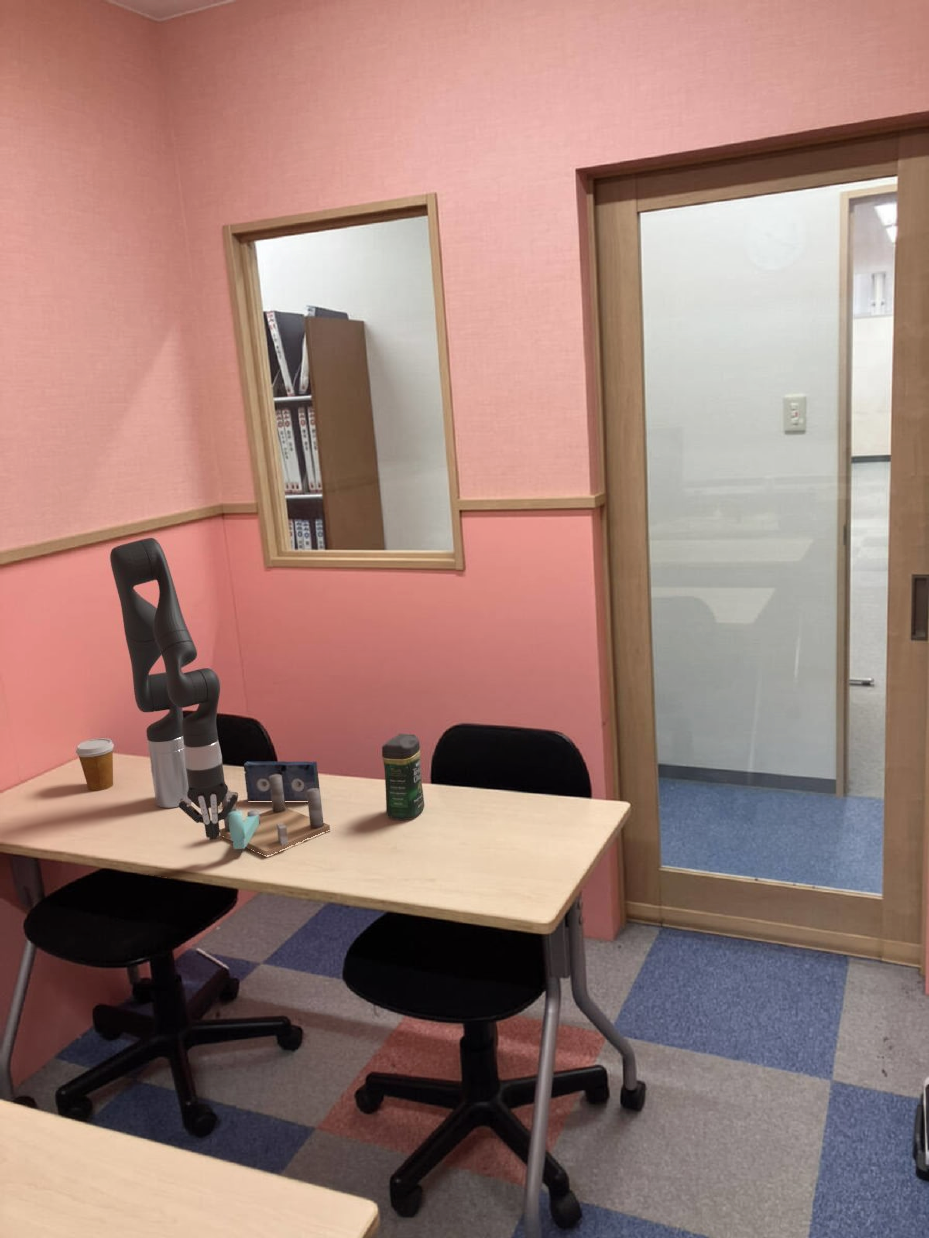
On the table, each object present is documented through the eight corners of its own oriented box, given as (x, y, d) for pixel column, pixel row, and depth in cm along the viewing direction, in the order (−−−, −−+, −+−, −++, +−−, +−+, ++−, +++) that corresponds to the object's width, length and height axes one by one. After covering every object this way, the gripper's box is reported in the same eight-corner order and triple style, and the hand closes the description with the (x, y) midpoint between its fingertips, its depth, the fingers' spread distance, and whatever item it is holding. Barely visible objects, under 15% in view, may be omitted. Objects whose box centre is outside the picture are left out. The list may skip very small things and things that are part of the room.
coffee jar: (414, 822, 230) (407, 745, 226) (382, 819, 233) (375, 743, 229) (429, 805, 239) (423, 731, 235) (399, 803, 242) (392, 730, 238)
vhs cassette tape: (321, 799, 248) (317, 760, 246) (317, 803, 245) (313, 765, 243) (252, 797, 252) (247, 760, 250) (247, 802, 249) (242, 764, 247)
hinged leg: (249, 821, 232) (245, 788, 231) (262, 821, 232) (258, 787, 231) (230, 852, 217) (226, 816, 215) (244, 851, 216) (239, 816, 215)
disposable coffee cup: (93, 780, 273) (86, 738, 270) (125, 779, 271) (119, 737, 269) (75, 793, 264) (68, 750, 261) (109, 793, 262) (102, 749, 260)
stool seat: (220, 835, 230) (215, 794, 228) (281, 811, 242) (277, 772, 240) (269, 858, 216) (264, 815, 214) (332, 831, 228) (327, 790, 226)
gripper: (169, 772, 208) (180, 849, 212) (234, 764, 210) (244, 841, 214) (173, 760, 216) (184, 835, 219) (236, 752, 218) (245, 827, 221)
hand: (213, 838), depth 217 cm, fingers closed
